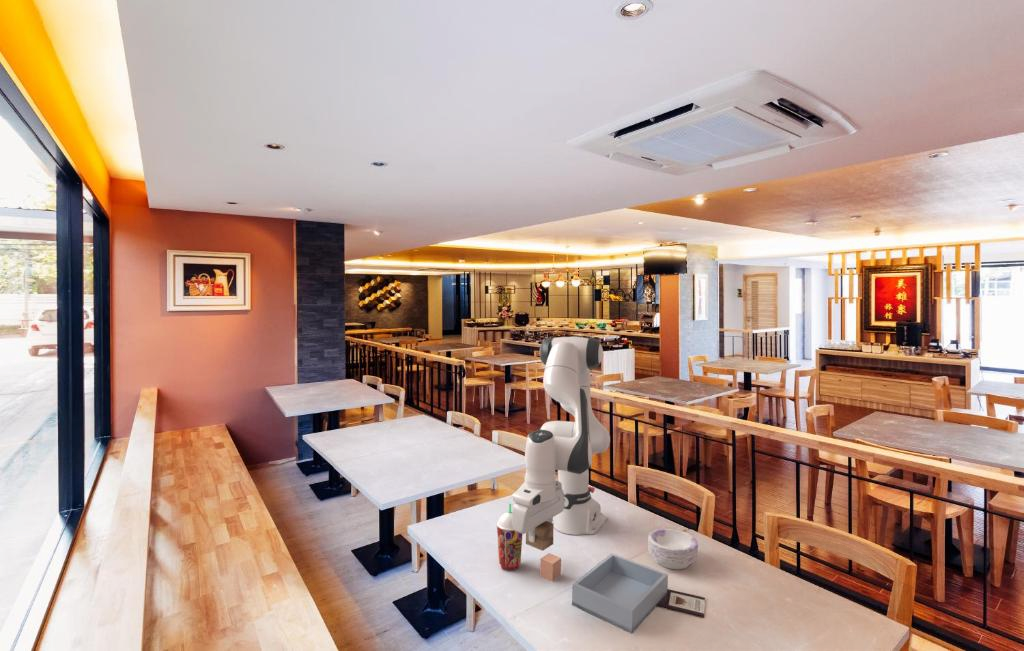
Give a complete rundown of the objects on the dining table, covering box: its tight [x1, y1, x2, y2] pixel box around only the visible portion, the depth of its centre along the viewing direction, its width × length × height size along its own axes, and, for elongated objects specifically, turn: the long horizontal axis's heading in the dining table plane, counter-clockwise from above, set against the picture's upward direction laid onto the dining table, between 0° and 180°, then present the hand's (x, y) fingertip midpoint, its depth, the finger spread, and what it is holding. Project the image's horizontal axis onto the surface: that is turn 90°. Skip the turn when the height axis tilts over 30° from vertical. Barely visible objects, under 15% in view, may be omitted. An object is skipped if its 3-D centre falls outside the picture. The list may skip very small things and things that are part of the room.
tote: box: [571, 552, 669, 634], centre depth 141 cm, size 22×18×6 cm
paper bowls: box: [647, 528, 699, 570], centre depth 161 cm, size 15×15×8 cm
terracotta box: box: [539, 552, 562, 582], centre depth 153 cm, size 4×4×6 cm
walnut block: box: [525, 521, 554, 552], centre depth 142 cm, size 5×6×6 cm
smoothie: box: [496, 503, 523, 571], centre depth 158 cm, size 8×8×20 cm
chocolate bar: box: [656, 588, 706, 619], centre depth 141 cm, size 9×1×18 cm
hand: (539, 536), depth 142 cm, fingers closed on walnut block, 5 cm apart
